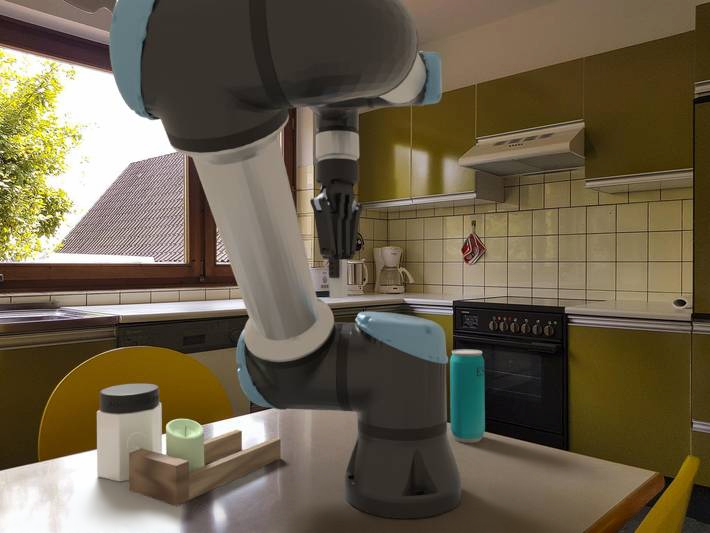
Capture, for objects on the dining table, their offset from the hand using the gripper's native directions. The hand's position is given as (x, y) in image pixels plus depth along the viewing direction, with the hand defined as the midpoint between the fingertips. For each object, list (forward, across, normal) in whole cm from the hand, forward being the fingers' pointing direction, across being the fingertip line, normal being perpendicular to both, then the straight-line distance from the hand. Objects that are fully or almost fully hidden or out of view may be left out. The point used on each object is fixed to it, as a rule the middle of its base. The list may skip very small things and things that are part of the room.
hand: (338, 297), depth 95 cm
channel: (+24, +22, -7) cm, 34 cm away
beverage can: (+25, -11, +19) cm, 33 cm away
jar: (+25, +28, -18) cm, 42 cm away
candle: (+25, +27, -7) cm, 37 cm away
